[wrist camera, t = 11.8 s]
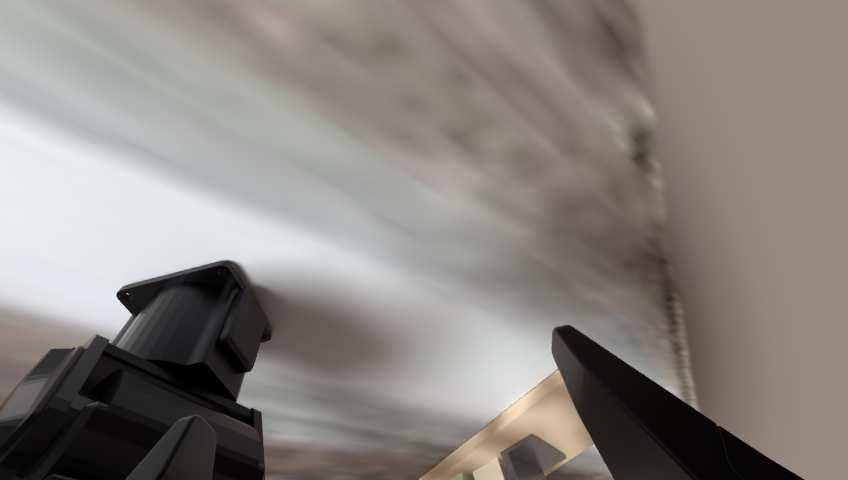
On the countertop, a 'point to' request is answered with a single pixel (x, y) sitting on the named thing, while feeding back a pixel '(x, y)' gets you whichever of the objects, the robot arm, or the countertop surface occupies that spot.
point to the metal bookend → (530, 459)
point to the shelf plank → (522, 431)
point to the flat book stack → (462, 477)
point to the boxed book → (492, 471)
